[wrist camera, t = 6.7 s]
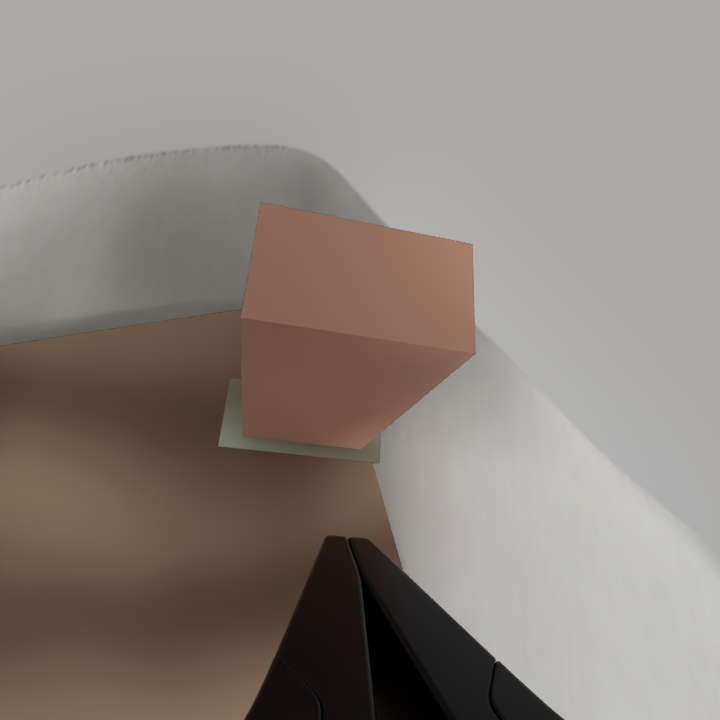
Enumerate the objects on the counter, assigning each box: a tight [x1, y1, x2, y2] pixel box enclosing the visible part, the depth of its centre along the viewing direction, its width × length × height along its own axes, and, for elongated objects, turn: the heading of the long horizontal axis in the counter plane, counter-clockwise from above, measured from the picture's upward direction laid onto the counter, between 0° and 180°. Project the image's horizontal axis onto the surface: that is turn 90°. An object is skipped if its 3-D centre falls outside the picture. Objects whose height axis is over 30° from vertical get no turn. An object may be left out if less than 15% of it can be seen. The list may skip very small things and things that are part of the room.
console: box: [0, 309, 403, 720], centre depth 13 cm, size 19×25×4 cm
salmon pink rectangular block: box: [241, 202, 475, 449], centre depth 14 cm, size 2×4×10 cm, turn 86°
